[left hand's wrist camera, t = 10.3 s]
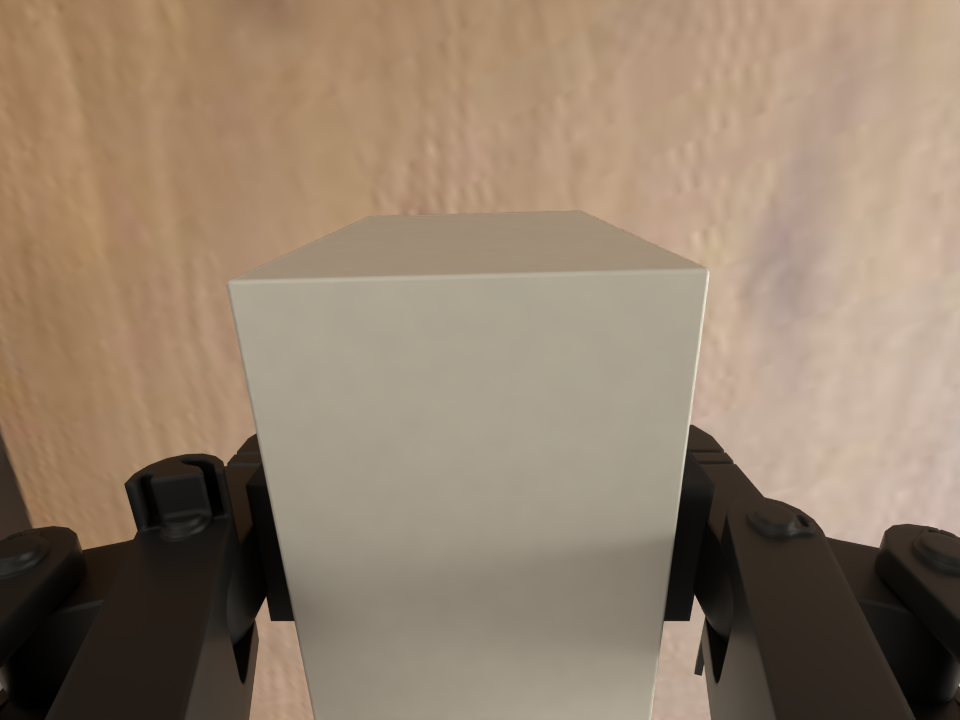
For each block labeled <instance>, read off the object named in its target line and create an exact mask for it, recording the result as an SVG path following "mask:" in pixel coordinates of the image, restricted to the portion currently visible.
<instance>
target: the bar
mask: <svg viewBox="0 0 960 720" xmlns="http://www.w3.org/2000/svg"><path fill="white" fill-rule="evenodd" d="M709 275H710V272H709V269H708V268H706V267H704V266H702V265H699V264H697V263H695V262H693V261H691V260H689V259H686V258H684V257H682V256H680V255H678V254H675V253H673V252H671V251H669V250H667V249H664V248H662V247H660V246H658V245H656V244H654V243H651V242H649V241H647V240H645V239H643V238H640V237H638V236H636V235H634V234H632V233H629V232H627V231H625V230H623V229H621V228H619V227H616V226H614V225H612V224H610V223H608V222H605V221H603V220H601V219H599V218H597V217H594V216H592V215H590V214H588V213H586V212H584V211H581V210H579V211H542V212H504V213H466V214H429V215H391V216H368V217H366V218H364V219H362V220H360V221H357V222H355V223H353V224H351V225H349V226H346V227H344V228H342V229H340V230H338V231H335V232H333V233H331V234H329V235H327V236H325V237H322V238H320V239H318V240H316V241H314V242H311V243H309V244H307V245H305V246H303V247H300V248H298V249H296V250H294V251H292V252H289V253H287V254H285V255H283V256H281V257H279V258H276V259H274V260H272V261H270V262H268V263H265V264H263V265H261V266H259V267H257V268H254V269H252V270H250V271H248V272H246V273H243V274H241V275H239V276H237V277H235V278H233V279H230V280H228V281H227V289H228V294H229V299H230V304H231V309H232V314H233V319H234V324H235V329H236V334H237V339H238V344H239V349H240V354H241V359H242V364H243V369H244V373H245V378H246V383H247V388H248V393H249V398H250V403H251V408H252V413H253V418H254V423H255V428H256V433H257V438H258V443H259V448H260V453H261V458H262V463H263V467H264V472H265V477H266V482H267V487H268V492H269V497H270V502H271V507H272V512H273V517H274V522H275V527H276V532H277V537H278V542H279V547H280V552H281V557H282V561H283V566H284V571H285V576H286V581H287V586H288V591H289V596H290V601H291V606H292V611H293V616H294V621H295V626H296V631H297V636H298V641H299V646H300V651H301V655H302V660H303V665H304V670H305V675H306V680H307V685H308V690H309V695H310V700H311V705H312V710H313V715H314V720H651V713H652V706H653V698H654V691H655V683H656V676H657V668H658V660H659V653H660V645H661V638H662V630H663V623H664V615H665V608H666V600H667V592H668V585H669V577H670V570H671V562H672V555H673V547H674V540H675V532H676V524H677V517H678V509H679V502H680V494H681V487H682V479H683V471H684V464H685V456H686V449H687V441H688V434H689V426H690V419H691V411H692V403H693V396H694V388H695V381H696V373H697V366H698V358H699V350H700V343H701V335H702V328H703V320H704V313H705V305H706V298H707V290H708V282H709Z"/></svg>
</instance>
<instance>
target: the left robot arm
mask: <svg viewBox="0 0 960 720" xmlns="http://www.w3.org/2000/svg"><path fill="white" fill-rule="evenodd" d="M124 485H125V488H126V492H127V495H128V499H129V502H130V506H131V509H132V513H133V516H134V520H135V523H136V527H137V530H138V531H137V533H136V535H135V537H134V539H133V540H129V541H126V542H121V543H116V544H111V545H106V546H101V547H96V548H91V549H86V550H82V548H81V546H80V543H79V540H78V537H77V534H76V533H75V532H73V531H72V530H71V529H69V528H65V527H57V526H51V527H44V528H36V529H30V530H26V531H24V532H22V533H21V532H19V533H16V534H13V535H10V536H8V537H7V538H5V539H3V540H1V541H0V682H1V684H2V686H3V688H2V690H1V691H0V720H249V715H250V707H251V699H252V691H253V683H254V675H255V667H256V659H257V651H258V643H259V638H258V631H257V626H256V621H255V618H256V615H257V613H258V611H259V609H260V607H261V605H262V603H263V601H264V599H265V597H267V603H268V608H269V613H270V618H271V621H294V616H293V611H292V606H291V601H290V596H289V591H288V586H287V581H286V576H285V571H284V566H283V561H282V557H281V552H280V547H279V542H278V537H277V532H276V527H275V522H274V517H273V512H272V507H271V502H270V497H269V492H268V487H267V482H266V477H265V472H264V467H263V463H262V458H261V453H260V448H259V443H258V438H257V433H256V434H255V435H253V436H251V437H250V438H248V439H247V441H246V442H245V443H244V444H243V445H242V447H241V448H240V449H239V450H238V451H237V455H234V456H233V457H232V458H231V460H230V461H229V462H228V463H227V466H225V467H224V463H223V461H222V460H220V459H219V458H217V457H216V456H213V455H207V454H185V455H180V456H175V457H171V458H166V459H164V460H161V461H159V462H156V463H153V464H151V465H148V466H147V467H145V468H143V469H142V470H140V471H138V472H137V473H135V474H134V475H133V476H132V477H131V478H130V479H129V480H128V481H127V482H126V483H125V484H124ZM694 595H695V596H696V598H697V600H698V602H699V604H700V606H701V608H702V610H703V612H704V614H705V621H704V626H703V631H702V636H701V640H700V645H699V650H698V655H697V660H696V666H695V673H694V674H697V675H701V676H702V671H703V666H705V674H706V682H707V690H708V698H709V706H710V714H711V720H960V687H959V683H960V538H959V537H957V536H956V535H954V534H952V533H950V532H947V531H944V530H938V529H937V528H933V527H929V526H920V525H912V524H902V525H893V526H892V527H890V528H889V529H888V530H886V531H885V533H884V536H883V539H882V541H881V544H880V547H879V548H876V547H871V546H866V545H861V544H856V543H851V542H846V541H841V540H836V539H832V538H828V537H826V536H825V534H824V532H823V530H822V529H821V528H820V527H819V525H818V524H817V523H816V522H815V520H814V519H812V518H811V517H810V516H808V515H807V514H805V513H804V512H802V511H801V510H800V509H797V508H795V507H793V506H791V505H788V504H786V503H784V502H781V501H777V500H773V499H769V498H765V497H763V495H762V494H761V493H760V492H759V491H758V490H757V488H756V487H755V486H754V485H753V484H752V482H751V481H750V480H749V479H748V478H747V477H746V475H745V474H744V473H743V472H742V471H741V470H740V468H739V467H738V466H737V465H736V464H734V463H733V460H732V459H731V458H730V457H729V456H728V454H727V453H724V450H723V448H722V447H721V446H720V445H719V444H718V443H717V441H716V440H715V439H714V438H713V437H712V436H711V435H709V434H707V433H706V432H704V431H702V430H701V429H699V428H697V427H696V426H694V425H690V426H689V434H688V441H687V449H686V456H685V464H684V471H683V479H682V487H681V494H680V502H679V509H678V517H677V524H676V532H675V540H674V547H673V555H672V562H671V570H670V577H669V585H668V592H667V600H666V608H665V615H664V621H690V616H691V610H692V605H693V600H694Z"/></svg>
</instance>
